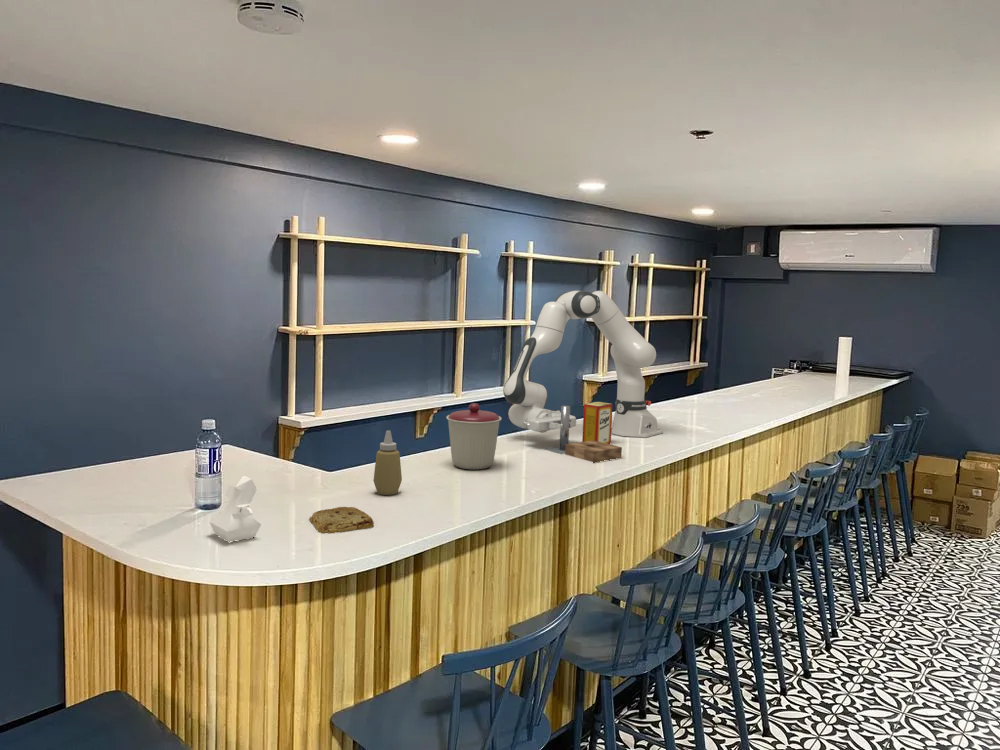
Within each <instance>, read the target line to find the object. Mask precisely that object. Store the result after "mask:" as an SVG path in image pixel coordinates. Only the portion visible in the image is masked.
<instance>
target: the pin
mask: <svg viewBox="0 0 1000 750" xmlns="http://www.w3.org/2000/svg"><path fill="white" fill-rule="evenodd" d="M560 412H561V424H563V429H559V430H560V431H559V446H560V448H559V450H563V451H565V445H566V444H570V443H569V441H570V439H569V438H570V437H569V436H570V428H569V420H570V415H571V406H570V405H561V406H560Z"/></svg>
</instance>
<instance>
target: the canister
mask: <svg viewBox="0 0 1000 750" xmlns="http://www.w3.org/2000/svg"><path fill="white" fill-rule="evenodd" d="M480 407H481V406H480V405H479V404H478V403H476V402H475V403H470V404H469V405H468V409H464V410H457V411H453V412H451V413H450V414H448V415H447V416H445V417H446V419H447V421H448V433H449V443H450V454H451V459H452V463H453V465H454V466H455V467H457V468H459V469H462V470H471V471H473V470H474V471H475V470H478V471H479V470H484V469H487V468H490V467H491V466H492V465H493V463H494V460H495V455H496V449H497V448H496V447H497V442H498V435H499V429H500V428H499V427H500V422H501V421H502V416H500V415H498V414H497V413H495V412H492V411H490V410H489V411H488V410H481V408H480Z"/></svg>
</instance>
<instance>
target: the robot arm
mask: <svg viewBox="0 0 1000 750" xmlns="http://www.w3.org/2000/svg"><path fill="white" fill-rule="evenodd" d="M589 318H591V319H592V322H593V323H594V324H595V325H596V327H597V328H598V330H599V331H600V332H601V334H602V335H603V337H604V338H605V339H606V340H607V342H609V343H610V344H612V345H611V346H610V355H611V357H612V360H613V362H614V367H615V371H616V378H617V387H616V389H617V390H616V391H617V392H616V399H615V406H614V407H615V411H614V416H613V421H612V422H613V423H612V427H611V434H613V435H616V436H621V437H622V436H623V437H638V438H649V437H653V436H657V435H661V434H664V430H662V429H660V428H658V420H657V418H656V417H655V416H654V414H653V413H651V412H650V411H649V410H648V409H647V408H648V407H650V406H651V405H652V402H651V400H645V392H646V391H645V390H646V389H645V387H646V382H645V378H644V377H643V373H642V370H641V368H642V369H643V368H648V367H650V366H651V365H653V364H654V362H655V361H656V358H657V352H656V348H655V347H654V346H653V345H652V344H651V343H650V342H648V341H647V340H646V339H645V338H644V336H642V335H641V334H640V332H638V331H637V329H635V327H634V326H632V324H631V323H630V322H629V321H628V320H627V318H626V317H625V315H624V314H623V312H622V311H621V310H620V308H619V306H618V305H617V304H616V303H615V302H614V301H613V299H612V298H611V297H610V296H609V295H608V294H607V293H606V292H604V291H603V290H595V291H593V292H590V291H588V290H572V291H568V292H562V293H561V294H560V295H558V296H557V297H556V298H555V299H554V301H549V302H546V303H545V304H544V305H543V306H542V309H541V311H540V313H539V315H538V319H537V321H536V325H535V328H534V331H533V332H532V335H531V336H530V337H529V338H527V339H526V340H525V341H524V343H523V345H522V346H521V349H520V351H519V353H518V356H517V358H516V361H515V363H514V365H513V368H512V370H511V373H510V374H509V376H508V378H507V380H506V381H505V383H504V385H503V390H502V392H503V395H504V398H505V400H506V401H507V402H508V403H509V404H512V405H511V406H510V408H509V409H508V412H507V413H508V419H509V420H510V422H511V423H512V424H513V425H515V426H517V427H519V428H522V429H528V430H530V431H534V432H538V433H546V432H548V431H551V430H560V429H563V424H561V410H555V409H547V408H545V407H546V405H547V402H548V391H547V389H546V386H544V385H543V384H540V383H537V382H533V381H529V380H526V377H527V374H528V372H529V370H530V367H531V365H532V363H533V361H534V359H535V358H536V357H537V356H540V355H542V354H549V353H551V352H553V351H556V350H557V349H559V347H560V345H561V343H562V340H563V337H564V332H565V329H566V328H565V327H566V325H567V323H568V321H569V320H570V319H571V320H578V319H589ZM647 406H648V407H647ZM576 425H577V417H576V416H575V415H571V414H570V420H569V429H571V428H574V427H576Z"/></svg>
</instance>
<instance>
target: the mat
mask: <svg viewBox="0 0 1000 750" xmlns="http://www.w3.org/2000/svg"><path fill="white" fill-rule="evenodd" d="M559 448H560V445H559V446H552V447H547V448H543V450H544V451H547V452H551V453H555V454H560V455H565V451H563V450H559Z"/></svg>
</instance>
